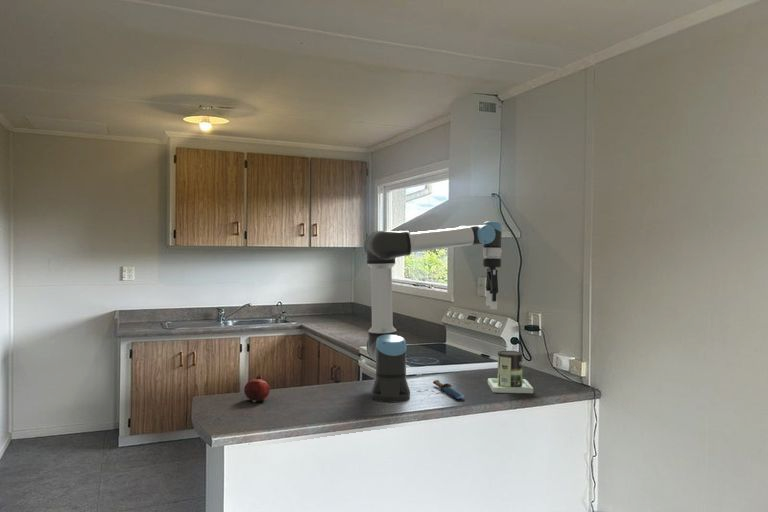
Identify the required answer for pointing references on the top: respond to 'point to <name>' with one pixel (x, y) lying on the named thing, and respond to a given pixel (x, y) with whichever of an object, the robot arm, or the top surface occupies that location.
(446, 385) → the knife
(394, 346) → the robot arm
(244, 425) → the top surface
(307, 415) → the top surface
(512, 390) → the tray
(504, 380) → the coffee can
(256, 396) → the fruit
